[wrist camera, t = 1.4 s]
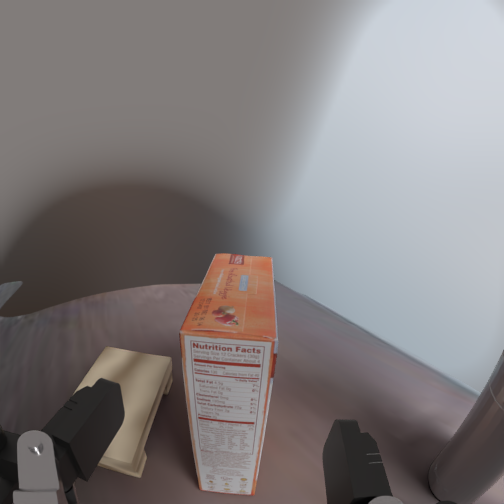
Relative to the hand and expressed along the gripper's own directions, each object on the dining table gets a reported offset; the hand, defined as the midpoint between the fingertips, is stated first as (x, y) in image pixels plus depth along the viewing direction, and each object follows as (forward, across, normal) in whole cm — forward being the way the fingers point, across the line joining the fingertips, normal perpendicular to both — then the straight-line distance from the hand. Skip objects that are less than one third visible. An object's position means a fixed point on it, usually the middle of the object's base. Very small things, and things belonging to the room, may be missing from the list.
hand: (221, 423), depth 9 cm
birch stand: (+16, +14, +20) cm, 30 cm away
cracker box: (+15, 0, +20) cm, 25 cm away
